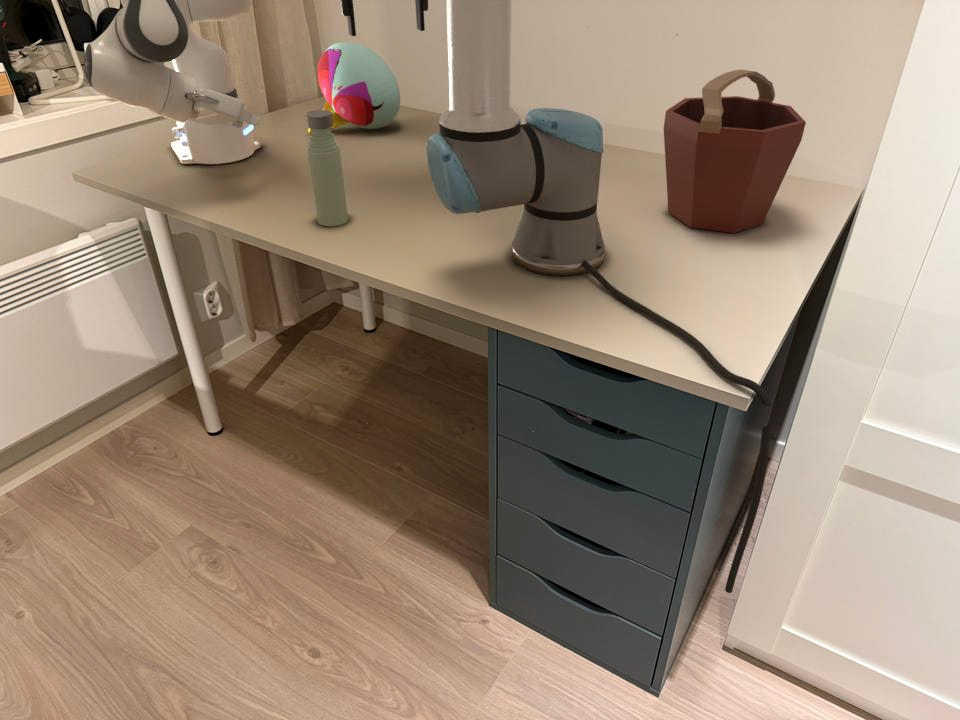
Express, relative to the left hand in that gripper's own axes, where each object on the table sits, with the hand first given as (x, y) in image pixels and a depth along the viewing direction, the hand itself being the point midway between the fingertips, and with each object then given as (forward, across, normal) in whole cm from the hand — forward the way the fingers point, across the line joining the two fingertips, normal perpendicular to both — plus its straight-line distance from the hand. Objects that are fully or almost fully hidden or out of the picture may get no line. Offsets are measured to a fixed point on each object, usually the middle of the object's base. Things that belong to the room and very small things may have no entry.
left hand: (249, 122), depth 143 cm
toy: (+33, +23, -11) cm, 42 cm away
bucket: (+65, -67, -2) cm, 93 cm away
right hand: (+16, -19, -22) cm, 33 cm away
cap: (+1, -30, 0) cm, 30 cm away
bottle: (+10, -25, +16) cm, 32 cm away
